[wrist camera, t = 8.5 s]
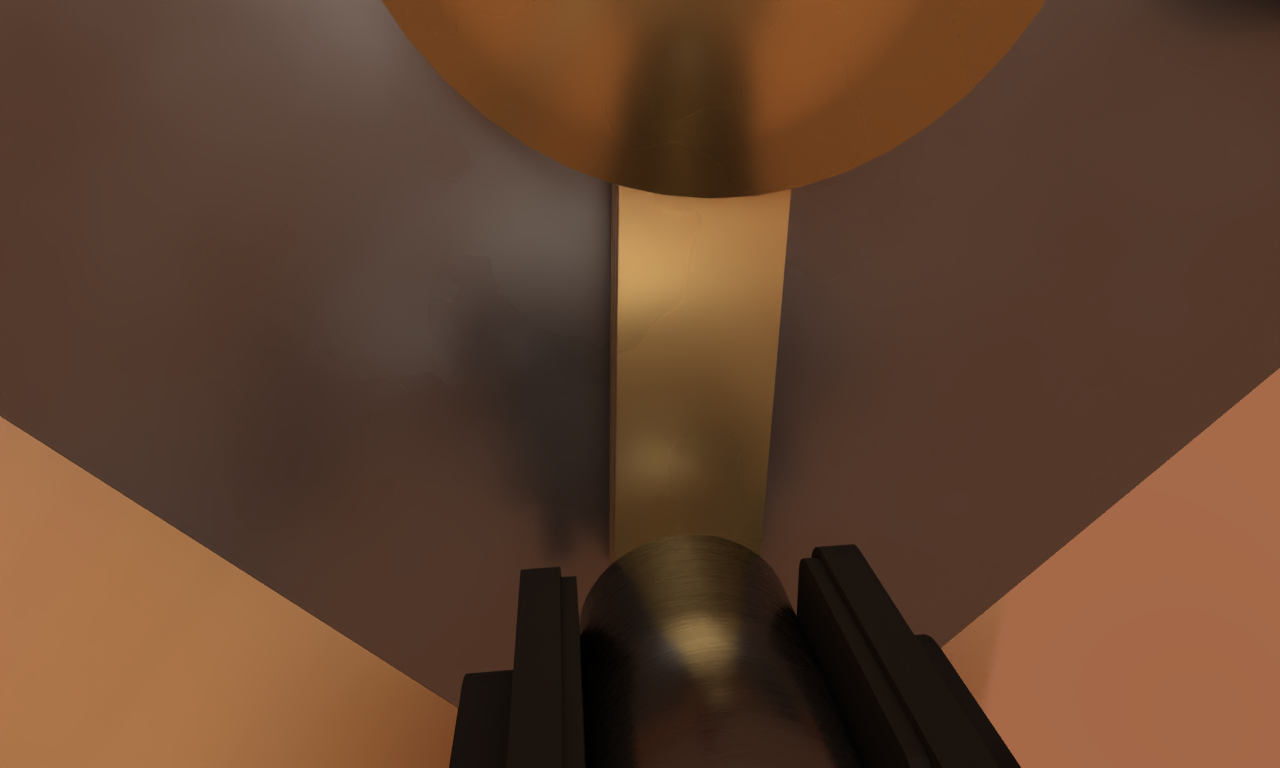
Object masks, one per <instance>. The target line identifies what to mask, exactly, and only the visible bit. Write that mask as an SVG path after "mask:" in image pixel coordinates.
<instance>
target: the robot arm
mask: <svg viewBox="0 0 1280 768" xmlns="http://www.w3.org/2000/svg"><path fill="white" fill-rule="evenodd" d="M797 619H798V621H799V623H800V626H801V628H802V630H803V632H804V635H805V637H806V639H807V642H808V644H809V646H810V649H811V651H812V653H813V655H814V658H815V660H816V662H817V665H818V667H819V669H820V671H821V674H822V676H823V678H824V681H825V683H826V685H827V687H828V690H829V692H830V694H831V697H832V699H833V701H834V704H835V706H836V708H837V710H838V713H839V715H840V717H841V720H842V722H843V724H844V726H845V729H846V731H847V733H848V736H849V738H850V740H851V743H852V745H853V747H854V749H855V752H856V754H857V756H858V759H859V761H860V763H861V765H862V768H1021V767H1020V765H1019V764H1018V762H1017V761H1016V759H1015V758H1014V756H1013V755H1012V753H1011V752H1010V750H1009V749H1008V748H1007V746H1006V744H1005V743H1004V742H1003V740H1002V739H1001V737H1000V736H999V734H998V733H997V731H996V730H995V728H994V727H993V725H992V724H991V722H990V721H989V719H988V718H987V716H986V715H985V713H984V712H983V710H982V709H981V707H980V706H979V704H978V703H977V701H976V700H975V699H974V697H973V696H972V694H971V693H970V691H969V690H968V688H967V687H966V685H965V684H964V682H963V681H962V679H961V678H960V676H959V675H958V673H957V672H956V670H955V669H954V667H953V666H952V664H951V663H950V661H949V660H948V658H947V657H946V656H945V654H944V653H943V651H942V650H941V648H940V647H939V645H938V644H937V643H936V642H935V640H934V639H933V638H932V637H930V636H928V635H926V634H920V635H914V633H913V632H912V630H911V629H910V627H909V626H908V624H907V623H906V621H905V619H904V618H903V616H902V615H901V613H900V612H899V610H898V609H897V607H896V606H895V604H894V602H893V601H892V599H891V598H890V596H889V595H888V593H887V592H886V590H885V588H884V587H883V585H882V584H881V582H880V581H879V579H878V578H877V576H876V574H875V573H874V571H873V570H872V568H871V567H870V565H869V564H868V562H867V560H866V559H865V557H864V556H863V554H862V553H861V551H860V550H859V548H858V547H857V546H856V545H854V544H848V545H834V546H821V547H815V548H814V549H813V552H812V556H811V558H802V559H801V561H800V564H799V577H798V597H797ZM449 768H586V756H585V733H584V711H583V688H582V666H581V643H580V625H579V609H578V593H577V578H576V576H569V577H561V568H560V567H547V568H534V569H521V571H520V582H519V597H518V611H517V625H516V639H515V653H514V667H513V670H503V671H491V672H479V673H468V674H465V676H464V678H463V682H462V687H461V694H460V700H459V707H458V713H457V720H456V726H455V733H454V739H453V746H452V752H451V759H450V765H449Z"/></svg>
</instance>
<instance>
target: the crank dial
mask: <svg viewBox="0 0 1280 768" xmlns="http://www.w3.org/2000/svg"><path fill="white" fill-rule="evenodd" d="M1045 1H1046V0H382V2H383V3H384V5H385V6H386V8H387V9H388V10H389V12H390V13H391V15H392V16H393V18H394V19H395V21H396V22H397V23H398V25H399V26H400V28H401V29H402V31H403V32H404V34H405V35H406V36H407V38H408V39H409V41H410V42H411V43H412V44H413V45H414V46H415V47H416V48H417V50H418V51H419V52H420V53H421V54H422V55H423V56H424V58H425V59H426V60H427V61H428V62H429V63H430V64H431V65H432V67H433V68H434V69H435V70H436V71H437V72H438V73H439V75H440V76H441V77H442V78H443V79H444V80H445V81H446V82H447V83H448V84H449V85H450V86H451V87H452V88H454V89H455V90H456V91H457V92H458V93H459V94H460V95H461V96H463V97H464V98H465V99H466V100H467V101H468V102H469V103H470V104H472V105H473V106H474V107H475V108H476V109H477V110H478V111H479V112H480V113H482V114H483V115H484V116H485V117H486V118H488V119H489V120H491V121H492V122H493V123H495V124H496V125H498V126H499V127H501V128H502V129H504V130H505V131H507V132H508V133H509V134H511V135H512V136H514V137H515V138H517V139H518V140H520V141H521V142H523V143H524V144H525V145H527V146H528V147H530V148H532V149H534V150H536V151H538V152H540V153H542V154H544V155H546V156H548V157H550V158H552V159H554V160H556V161H558V162H559V163H561V164H563V165H565V166H567V167H569V168H571V169H573V170H576V171H579V172H582V173H585V174H587V175H590V176H593V177H596V178H599V179H601V180H604V181H607V182H610V183H612V214H611V348H610V483H609V567H608V568H607V569H606V570H605V571H604V572H603V573H602V574H601V575H600V577H599V578H598V579H597V581H596V582H595V583H594V585H593V586H592V588H591V590H590V591H589V593H588V595H587V597H586V599H585V602H584V604H583V607H582V611H581V615H580V620H579V625H580V643H581V666H582V688H583V711H584V733H585V756H586V768H862V765H861V763H860V761H859V759H858V756H857V754H856V752H855V749H854V747H853V745H852V743H851V740H850V738H849V736H848V733H847V731H846V729H845V726H844V724H843V722H842V720H841V717H840V715H839V713H838V710H837V708H836V706H835V704H834V701H833V699H832V697H831V694H830V692H829V690H828V687H827V685H826V683H825V681H824V678H823V676H822V674H821V671H820V669H819V667H818V665H817V662H816V660H815V658H814V655H813V653H812V651H811V649H810V646H809V644H808V642H807V639H806V637H805V635H804V632H803V630H802V628H801V626H800V623H799V621H798V619H797V616H796V614H795V612H794V610H793V607H792V605H791V603H790V600H789V598H788V596H787V593H786V591H785V589H784V587H783V585H782V583H781V581H780V579H779V577H778V576H777V574H776V573H775V571H774V570H773V568H772V567H771V566H770V565H769V564H768V563H767V562H766V561H765V560H764V559H763V558H761V557H760V553H761V541H762V529H763V517H764V506H765V494H766V482H767V470H768V458H769V446H770V434H771V422H772V411H773V399H774V387H775V375H776V363H777V351H778V339H779V328H780V316H781V304H782V292H783V280H784V268H785V256H786V244H787V233H788V221H789V209H790V197H791V189H794V188H799V187H803V186H806V185H809V184H812V183H815V182H818V181H821V180H824V179H827V178H830V177H833V176H836V175H839V174H842V173H845V172H847V171H850V170H852V169H854V168H856V167H858V166H860V165H862V164H864V163H866V162H868V161H870V160H872V159H874V158H876V157H878V156H881V155H883V154H885V153H887V152H889V151H890V150H892V149H894V148H895V147H897V146H898V145H900V144H901V143H903V142H904V141H906V140H908V139H909V138H911V137H912V136H914V135H915V134H917V133H918V132H920V131H921V130H923V129H925V128H926V127H928V126H929V125H931V124H932V123H933V122H934V121H936V120H937V119H938V118H939V117H940V116H942V115H943V114H944V113H945V112H946V111H948V110H949V109H950V108H951V107H952V106H954V105H955V104H956V103H957V102H959V101H960V100H961V99H962V98H963V97H965V96H966V95H967V94H968V93H969V92H970V91H971V90H972V89H973V88H974V87H975V86H976V85H977V84H978V83H979V82H980V81H981V80H982V79H983V78H984V77H985V76H986V75H987V74H988V73H989V72H990V71H991V70H992V69H993V67H994V66H995V65H996V64H997V63H998V62H999V61H1000V60H1001V59H1002V58H1003V57H1004V56H1005V55H1006V54H1007V53H1008V51H1009V50H1010V49H1011V47H1012V46H1013V45H1014V43H1015V42H1016V41H1017V40H1018V38H1019V37H1020V36H1021V34H1022V33H1023V32H1024V30H1025V29H1026V28H1027V27H1028V25H1029V24H1030V23H1031V21H1032V20H1033V19H1034V17H1035V16H1036V15H1037V14H1038V12H1039V11H1040V9H1041V8H1042V6H1043V4H1044V3H1045Z"/></svg>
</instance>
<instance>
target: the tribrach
mask: <svg viewBox="0 0 1280 768" xmlns="http://www.w3.org/2000/svg"><path fill="white" fill-rule="evenodd" d="M611 214H612V183H610V182H607V181H604V180H601V179H599V178H596V177H593V176H590V175H587V174H585V173H582V172H579V171H576V170H573V169H571V168H569V167H567V166H565V165H563V164H561V163H559V162H558V161H556V160H554V159H552V158H550V157H548V156H546V155H544V154H542V153H540V152H538V151H536V150H534V149H532V148H530V147H528V146H527V145H525V144H524V143H523V142H521V141H520V140H518V139H517V138H515V137H514V136H512V135H511V134H509V133H508V132H507V131H505V130H504V129H502V128H501V127H499V126H498V125H496V124H495V123H493V122H492V121H491V120H489V119H488V118H486V117H485V116H484V115H483V114H482V113H480V112H479V111H478V110H477V109H476V108H475V107H474V106H473V105H472V104H470V103H469V102H468V101H467V100H466V99H465V98H464V97H463V96H461V95H460V94H459V93H458V92H457V91H456V90H455V89H454V88H452V87H451V86H450V85H449V84H448V83H447V82H446V81H445V80H444V79H443V78H442V77H441V76H440V75H439V73H438V72H437V71H436V70H435V69H434V68H433V67H432V65H431V64H430V63H429V62H428V61H427V60H426V59H425V58H424V56H423V55H422V54H421V53H420V52H419V51H418V50H417V48H416V47H415V46H414V45H413V44H412V43H411V42H410V41H409V39H408V38H407V36H406V35H405V34H404V32H403V31H402V29H401V28H400V26H399V25H398V23H397V22H396V21H395V19H394V18H393V16H392V15H391V13H390V12H389V10H388V9H387V8H386V6H385V5H384V3H383V2H382V0H0V416H1V417H3V418H4V419H6V420H7V421H9V422H10V423H12V424H14V425H15V426H17V427H18V428H20V429H21V430H23V431H25V432H26V433H28V434H29V435H31V436H32V437H34V438H36V439H37V440H39V441H40V442H42V443H43V444H45V445H46V446H48V447H50V448H51V449H53V450H54V451H56V452H57V453H59V454H61V455H62V456H64V457H65V458H67V459H68V460H70V461H72V462H73V463H75V464H76V465H78V466H79V467H81V468H83V469H84V470H86V471H87V472H89V473H90V474H92V475H94V476H95V477H97V478H98V479H100V480H101V481H103V482H104V483H106V484H108V485H109V486H111V487H112V488H114V489H115V490H117V491H119V492H120V493H122V494H123V495H125V496H126V497H128V498H130V499H131V500H133V501H134V502H136V503H137V504H139V505H141V506H142V507H144V508H145V509H147V510H148V511H150V512H152V513H153V514H155V515H156V516H158V517H159V518H161V519H163V520H164V521H166V522H167V523H169V524H170V525H172V526H173V527H175V528H177V529H178V530H180V531H181V532H183V533H184V534H186V535H188V536H189V537H191V538H192V539H194V540H195V541H197V542H199V543H200V544H202V545H203V546H205V547H206V548H208V549H210V550H211V551H213V552H214V553H216V554H217V555H219V556H221V557H222V558H224V559H225V560H227V561H228V562H230V563H231V564H233V565H235V566H236V567H238V568H239V569H241V570H242V571H244V572H246V573H247V574H249V575H250V576H252V577H253V578H255V579H257V580H258V581H260V582H261V583H263V584H264V585H266V586H268V587H269V588H271V589H272V590H274V591H275V592H277V593H279V594H280V595H282V596H283V597H285V598H286V599H288V600H289V601H291V602H293V603H294V604H296V605H297V606H299V607H300V608H302V609H304V610H305V611H307V612H308V613H310V614H311V615H313V616H315V617H316V618H318V619H319V620H321V621H322V622H324V623H326V624H327V625H329V626H330V627H332V628H333V629H335V630H337V631H338V632H340V633H341V634H343V635H344V636H346V637H347V638H349V639H351V640H352V641H354V642H355V643H357V644H358V645H360V646H362V647H363V648H365V649H366V650H368V651H369V652H371V653H373V654H374V655H376V656H377V657H379V658H380V659H382V660H384V661H385V662H387V663H388V664H390V665H391V666H393V667H395V668H396V669H398V670H399V671H401V672H402V673H404V674H405V675H407V676H409V677H410V678H412V679H413V680H415V681H416V682H418V683H420V684H421V685H423V686H424V687H426V688H427V689H429V690H431V691H432V692H434V693H435V694H437V695H438V696H440V697H442V698H443V699H445V700H446V701H448V702H449V703H451V704H453V705H454V706H456V707H457V708H458V707H459V700H460V694H461V687H462V682H463V678H464V676H465V674H468V673H479V672H491V671H503V670H513V667H514V653H515V639H516V625H517V611H518V597H519V582H520V571H521V569H534V568H547V567H560V568H561V577H569V576H576V578H577V593H578V609H579V620H580V615H581V611H582V607H583V604H584V602H585V599H586V597H587V595H588V593H589V591H590V590H591V588H592V586H593V585H594V583H595V582H596V581H597V579H598V578H599V577H600V575H601V574H602V573H603V572H604V571H605V570H606V569H607V568H608V567H609V483H610V348H611ZM1279 368H1280V0H1046V1H1045V3H1044V4H1043V6H1042V8H1041V9H1040V11H1039V12H1038V14H1037V15H1036V16H1035V17H1034V19H1033V20H1032V21H1031V23H1030V24H1029V25H1028V27H1027V28H1026V29H1025V30H1024V32H1023V33H1022V34H1021V36H1020V37H1019V38H1018V40H1017V41H1016V42H1015V43H1014V45H1013V46H1012V47H1011V49H1010V50H1009V51H1008V53H1007V54H1006V55H1005V56H1004V57H1003V58H1002V59H1001V60H1000V61H999V62H998V63H997V64H996V65H995V66H994V67H993V69H992V70H991V71H990V72H989V73H988V74H987V75H986V76H985V77H984V78H983V79H982V80H981V81H980V82H979V83H978V84H977V85H976V86H975V87H974V88H973V89H972V90H971V91H970V92H969V93H968V94H967V95H966V96H965V97H963V98H962V99H961V100H960V101H959V102H957V103H956V104H955V105H954V106H952V107H951V108H950V109H949V110H948V111H946V112H945V113H944V114H943V115H942V116H940V117H939V118H938V119H937V120H936V121H934V122H933V123H932V124H931V125H929V126H928V127H926V128H925V129H923V130H921V131H920V132H918V133H917V134H915V135H914V136H912V137H911V138H909V139H908V140H906V141H904V142H903V143H901V144H900V145H898V146H897V147H895V148H894V149H892V150H890V151H889V152H887V153H885V154H883V155H881V156H878V157H876V158H874V159H872V160H870V161H868V162H866V163H864V164H862V165H860V166H858V167H856V168H854V169H852V170H850V171H847V172H845V173H842V174H839V175H836V176H833V177H830V178H827V179H824V180H821V181H818V182H815V183H812V184H809V185H806V186H803V187H799V188H794V189H791V197H790V209H789V221H788V233H787V244H786V256H785V268H784V280H783V292H782V304H781V316H780V328H779V339H778V351H777V363H776V375H775V387H774V399H773V411H772V422H771V434H770V446H769V458H768V470H767V482H766V494H765V506H764V517H763V529H762V541H761V553H760V557H761V558H763V559H764V560H765V561H766V562H767V563H768V564H769V565H770V566H771V567H772V568H773V570H774V571H775V573H776V574H777V576H778V577H779V579H780V581H781V583H782V585H783V587H784V589H785V591H786V593H787V596H788V598H789V600H790V603H791V605H792V607H793V610H794V612H795V614H796V616H797V597H798V577H799V564H800V561H801V559H802V558H811V556H812V552H813V549H814V548H815V547H821V546H834V545H848V544H854V545H856V546H857V547H858V548H859V550H860V551H861V553H862V554H863V556H864V557H865V559H866V560H867V562H868V564H869V565H870V567H871V568H872V570H873V571H874V573H875V574H876V576H877V578H878V579H879V581H880V582H881V584H882V585H883V587H884V588H885V590H886V592H887V593H888V595H889V596H890V598H891V599H892V601H893V602H894V604H895V606H896V607H897V609H898V610H899V612H900V613H901V615H902V616H903V618H904V619H905V621H906V623H907V624H908V626H909V627H910V629H911V630H912V632H913V633H914V635H920V634H926V635H928V636H930V637H932V638H933V639H934V640H935V642H936V643H937V644H938V645H939V647H940V648H941V647H942V646H944V645H945V644H946V643H947V642H948V641H950V640H951V639H952V638H953V637H954V636H956V635H957V634H958V633H959V632H961V631H962V630H963V629H964V628H965V627H967V626H968V625H969V624H970V623H971V622H973V621H974V620H975V619H976V618H977V617H979V616H980V615H981V614H982V613H984V612H985V611H986V610H987V609H988V608H990V607H991V606H992V605H993V604H994V603H996V602H997V601H998V600H999V599H1000V598H1002V597H1003V596H1004V595H1005V594H1007V593H1008V592H1009V591H1010V590H1011V589H1013V588H1014V587H1015V586H1016V585H1017V584H1018V583H1020V582H1021V581H1022V580H1023V579H1025V578H1026V577H1027V576H1028V575H1029V574H1031V573H1032V572H1033V571H1034V570H1036V569H1037V568H1038V567H1039V566H1040V565H1041V564H1043V563H1044V562H1045V561H1046V560H1048V559H1049V558H1050V557H1051V556H1052V555H1054V554H1055V553H1056V552H1057V551H1058V550H1060V549H1061V548H1062V547H1063V546H1064V545H1066V544H1067V543H1068V542H1069V541H1071V540H1072V539H1073V538H1074V537H1075V536H1077V535H1078V534H1079V533H1080V532H1081V531H1083V530H1084V529H1085V528H1086V527H1088V526H1089V525H1090V524H1091V523H1092V522H1094V521H1095V520H1096V519H1097V518H1098V517H1100V516H1101V515H1102V514H1103V513H1105V512H1106V511H1107V510H1108V509H1109V508H1110V507H1112V506H1113V505H1114V504H1115V503H1116V502H1118V501H1119V500H1120V499H1121V498H1123V497H1124V496H1125V495H1126V494H1128V493H1129V492H1130V491H1131V490H1132V489H1134V488H1135V487H1136V486H1137V485H1138V484H1140V483H1141V482H1142V481H1143V480H1144V479H1145V478H1147V477H1148V476H1149V475H1151V474H1152V473H1153V472H1154V471H1155V470H1156V469H1158V468H1159V467H1160V466H1161V465H1163V464H1164V463H1165V462H1166V461H1167V460H1169V459H1170V458H1171V457H1172V456H1174V455H1175V454H1176V453H1177V452H1178V451H1180V450H1181V449H1182V448H1183V447H1184V446H1186V445H1187V444H1188V443H1189V442H1190V441H1192V440H1193V439H1194V438H1195V437H1196V436H1198V435H1199V434H1200V433H1201V432H1203V431H1204V430H1205V429H1206V428H1207V427H1209V426H1210V425H1211V424H1212V423H1213V422H1215V421H1216V420H1217V419H1218V418H1220V417H1221V416H1222V415H1223V414H1224V413H1226V412H1227V411H1228V410H1229V409H1230V408H1232V407H1233V406H1234V405H1235V404H1236V403H1238V402H1239V401H1240V400H1241V399H1242V398H1244V397H1245V396H1246V395H1247V394H1249V393H1250V392H1251V391H1252V390H1253V389H1255V388H1256V387H1257V386H1258V385H1259V384H1261V383H1262V382H1263V381H1264V380H1265V379H1267V378H1268V377H1269V376H1270V375H1271V374H1273V373H1274V372H1275V371H1276V370H1278V369H1279Z"/></svg>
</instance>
